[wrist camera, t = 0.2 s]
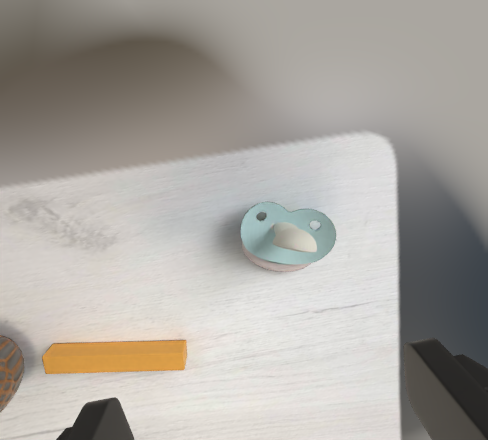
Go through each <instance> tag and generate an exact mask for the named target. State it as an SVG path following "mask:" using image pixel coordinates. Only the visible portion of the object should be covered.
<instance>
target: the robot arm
mask: <svg viewBox="0 0 488 440" xmlns="http://www.w3.org/2000/svg"><path fill="white" fill-rule="evenodd" d="M403 351H404V367H405V382H406V391H407V394H408V398H409V401H410V403H411V405H412V408H413V410H414V412H415V413H416V415H417V416H418V418H419V420H420V421H421V423H422V424H423V426H424V428H425V429H426V431H427V432H428V434H429V435H430V437H431V439H432V440H488V369H487V368H486V367H484V366H482V365H480V364H479V363H477V362H475V361H473V360H472V359H470V358H468V357H466V356H465V355H463V354H462V355H457V356H453V355H452V354H451V353H449V351H448V350H447V349H446V348H445V347H444V346H443V345H442V344H441V343H440V342H439V341H438V340H437V339H435V338H429V339H424V340H419V341H414V342H409V343H405V344H404V347H403ZM56 440H134V437H133V434H132V432H131V429H130V427H129V424H128V422H127V419H126V417H125V414H124V412H123V409H122V407H121V404H120V402H119V400H118V399H117V398H109V399H104V400H98V401H93V402H88V403H86V404H85V405H84V406H83V408H82V410H81V412H80V413H79V415H78V417H77V419H76V421H75V423H74V425H73V427H70V428H66V429H65V430H64V431H63V433H62V434H61V435H60V436H59V437H58V438H57V439H56Z"/></svg>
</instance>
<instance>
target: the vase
mask: <svg viewBox="0 0 488 440" xmlns="http://www.w3.org/2000/svg"><path fill="white" fill-rule="evenodd" d="M23 373H24V358H23V355H22V353H21V351H20V349H19V347H18V346H17V345H16V344H15V343H14V342H13V341H12V340H10V339H9V338H7V337H4V336H1V335H0V413H1V412H2V410H3V409H4V408H5V407H6V406H7V404H8V403H9V402H10V401H11V399H12V398H13V396H14V395H15V393H16V392H17V390H18V387H19V385H20V383H21V380H22V378H23Z"/></svg>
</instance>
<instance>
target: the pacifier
mask: <svg viewBox="0 0 488 440" xmlns="http://www.w3.org/2000/svg"><path fill="white" fill-rule="evenodd" d="M262 211H263V212H265V213H266V214H267V215H266V218H265V219H264V220H261V221H260V220H257V219H256V216H257V214H258V213H259V212H262ZM314 220H317V221H319V222H320V224H321V226H320V228H319V229H316V230H314V229H311V228H310V222H311V221H314ZM240 230H241V239H242V249H243V251H244V253H245V255H246V256H247V257H248V258H249V260H250V261H252V262H253V263H255V264H256V265H258V266H260V267H263V268H265V269H268V270H273V271H280V272H289V271H296V270H299V269H303V268H305V267H307V266H308V265H310V264H311V263H312V262H315V261H318V260H320V259H322V258H323V257H324V256H325V255H327V254H328V253H329V252H330V250H331V249H332V248H333V246H334V244H335V240H336V230H335V227H334V225H333V223H332V221H331V220H330V219H329V218H328V217H327V216H326V215H325V214H323V213H321V212H319V211H317V210H312V209H300V210H296V211H293V212H289V211H287V210H286V209H285V208H284V207H282V206H281V205H279V204H276V203H273V202H262V203H259V204H257V205H255V206H253V207H252V208H251V209H249V210H248V212H247V213H246V214H245V216H244V218H243V220H242V223H241V229H240Z"/></svg>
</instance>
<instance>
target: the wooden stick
mask: <svg viewBox="0 0 488 440" xmlns="http://www.w3.org/2000/svg"><path fill="white" fill-rule="evenodd" d="M186 358H187V349H186V340H177V341H138V342H99V343H60V344H52V346H51V347H50V348H49V349H48V350H47V352H46V353H45V354H44V355H43V357H42V360H43V364H44V369H45V373H46V374H61V373H96V372H131V371H166V370H184V369H185V364H186Z"/></svg>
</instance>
